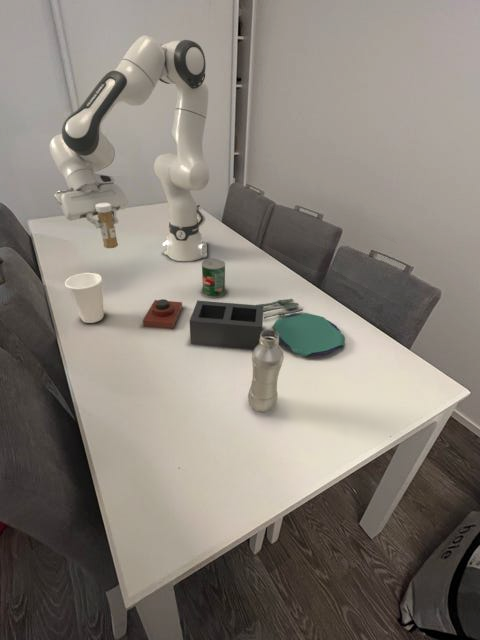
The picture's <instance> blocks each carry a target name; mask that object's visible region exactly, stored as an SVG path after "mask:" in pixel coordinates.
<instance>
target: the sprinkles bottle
mask: <svg viewBox="0 0 480 640" xmlns="http://www.w3.org/2000/svg"><path fill="white" fill-rule="evenodd" d="M95 207H96V211H97V214H98V215H97V220H100V222H101V223H102V227H101V228H99V229H100V234H101V238H102V242H103V243H102V244H103V247H104V248H105V249H115V248H117V247H118V246H119V243H118V239H117V233H116V227H115V224H114V221H113V215H112V207H111V204H110V203H98V204H96V205H95Z"/></svg>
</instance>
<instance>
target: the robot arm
mask: <svg viewBox="0 0 480 640" xmlns="http://www.w3.org/2000/svg"><path fill="white" fill-rule="evenodd" d="M202 48H203V47H201V46H200V44H198V43H197V42H195V41H193V40H190V39H182V40H172V41H169V42H167V43H164V44H162V43H161V44H160V43H159V41H157V40H156V38H154V37H152V36H149V35H146V34H145V35H144V34H143V35H141V36H139V37H138V38H137V39H136V40H135V41H134V42H133V44H132V45H131V46H130V47H129V48H128V50H127V51H126V53H125V54H124V55H123V57H122V59H121V61H120V62H119V64H118V65H117V67H116V68H115V69H114V70H111V71H108V72H107V73H106V74H105V75H104V76H103V77H102V78H101V79H100V81H98V83H97V84H96V85H95V86H94V88H93V89H92V91H91V92H90V93H89V94H88V96H87V97H86V99H85V100H84V101H83V103H82V104H81V105H80V106H79V107H78V109H76V111H74V112H73V113H71V114H70V115H69V116H67V118H66V119H65V120H64V122H63V124H62V128H61V133H59V134H57V135H55V136H53V137H52V139H51V140H50V142H49V152H50V153H49V154H50V155H51V158H52V160H53V162H54V164H55V166H56V168H57V169H58V171H59V173H60V174H61V175H62V176H63V177H64V180H65V183H66V184H67V187H68V188H66V189H60V190H57V191H56V192H55V193H54V198H55V201H56V202H57V203H58V204H59V205H60V208H61V211H62V213H63V215H64V217H65V218H66V220H67V221H70V222H73V221H77V220H81V219H82V220H83V219H86V220H87V222H89V223H90V224H93V225H94V227H95V228H96V229H100V228H101V227H102V223H101V222H100V220H99V219H96V218H95V216H98V214H97V211H96V207H95V205H96V204H98V203H110V204H111V207H112V216H113V221H114V225H117V224H119V219H118V217H117V212H118V211H122V210H126V208H127V207H128V204H129V199H128V198H127V196H126V194H125V192H124V191H123V189H122V188H121V187H120V186H119V185H118V184H116V183H115V179H114V177H113V176H111V175H106V174H101V173H97V172H98V171H101V170H104V169H105V168H108V167H109V166H110V165H111V164H112V163H113V162H114V160H115V156H116V151H115V147H114V146H113V143H111V141H110V140H109V139H108V138H107V136H106V135H105V134H104V132H102V130H101V129H102V124H103V122H104V120H105V119H106V118H107V116H108V115H109V114H110V112H111V111H112V110H113V108H114V107H115V106H116V105H117V104H118V103H120V102H123V103H124V104H127V105H129V106H132V107H133V106H134V107H135V106H136V107H137V106H142V105H144V104H145V103H146V102H147V101H148V99H149V98H150V96H151V95H152V93H153V92H154V90H155V88H156V86H157V84H158V82H159V81H160V82H162V83H164V84H166V85H170V84H172V85H175V88H176V92H177V93H176V94H177V97H176V103H175V109H174V115H173V121H172V127H171V128H172V129H171V135H172V136H171V137H172V138H173V139H174V141H175V145H176V154H175V153H170V152H169V153H163V154H160V155H158V156H157V157H156V158H155V161H154V163H153V171H154V173H155V176H156V178H158V179H159V181H160V183H161V185H162V186H161V187H162V188H163V191H164V193H165V197H166V201H167V206H168V213H169V214H168V215H169V223H168V229H169V233H168V234H167V235H166V241H164V242H163V243H162V246H166V249H165V250H164V251H163V255H165V256H168V258H170V260H174V261H177V262H192V261H198V260H200V259H204V258H207V257H208V245H207V242H206V241H204V240H203V241H202V237H203V236H202V233H201V231H200V224H201V223H202V221H203V214H201V212H200V211H198V208H200V207H201V206H200V204H198V205H197V201H196V199H195V198H194V196H192V194H191V191H192V192H193V191H195V192H197V191H202V190H204V189H205V188H206V187H207V185H208V183H209V181H210V171H209V167H208V166H207V164H206V162H205V159H204V153H203V140H204V133H205V126H206V120H207V115H208V108H209V87H208V86H207V84H206V83H205V79H206V66H207V65H206V64H207V63H206V56H205V53H204V50H203V49H202ZM198 215H199V217H200V220H199V219H198Z"/></svg>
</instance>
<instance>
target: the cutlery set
mask: <svg viewBox="0 0 480 640" xmlns="http://www.w3.org/2000/svg"><path fill="white" fill-rule="evenodd" d="M277 304H278V305H283V306H280V307H271V308H265V309H264V308H263V313H266V312H270V311H276V310H283V309H286V310H289V311H279V312H277V313H274V314H271V315H266V316H265V315H264V316H263V320H265V319H268V318H272V317H277V316H279V317H280V316H283V317H280V318H277V319H276V320H275V322H274V324H272V329H273V330H274V331H276V332H277V333H278V334H279V343H281V344H282V345H283V346H284V347H286V348H287V349H289V350H292V353H293V354H296V355H301V356H304V357H307V356H309V355H311V356H320V355H327V354H330V353H333V352H335V351H337V350H338V349H339V348H340V347H344V345H345V342H346V337H345V335H344V334H343V332H342V331H341V330H340V329H339V327H338V326H337V325H336V324H335V323H333V322H332V321H330V320H328V319H327V318H326V317H324V316H321V315H317V314H314V313H308V312H307V313H306V312H303V311H304V308H299V309H296V308H297V307H299V305H300V303H298V302H295V300H294V299H293V298H288V299H278V300H276V301H272V302H268V303H260V304H258V305H259V306H264V307H269V306H274V305H277ZM298 312H299V313H298ZM300 312H303V313H300ZM285 315H286V316H285Z"/></svg>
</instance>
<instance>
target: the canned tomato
mask: <svg viewBox="0 0 480 640" xmlns="http://www.w3.org/2000/svg"><path fill="white" fill-rule="evenodd" d="M201 273H202V274H201V278H202V294H203V296H205V297H208V298H220V297H223V296H224V295H225V293H226V288H225V287H226V263H225V261H224V260H222V259H219V258H208V259H205V260H203V261H202V262H201Z"/></svg>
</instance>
